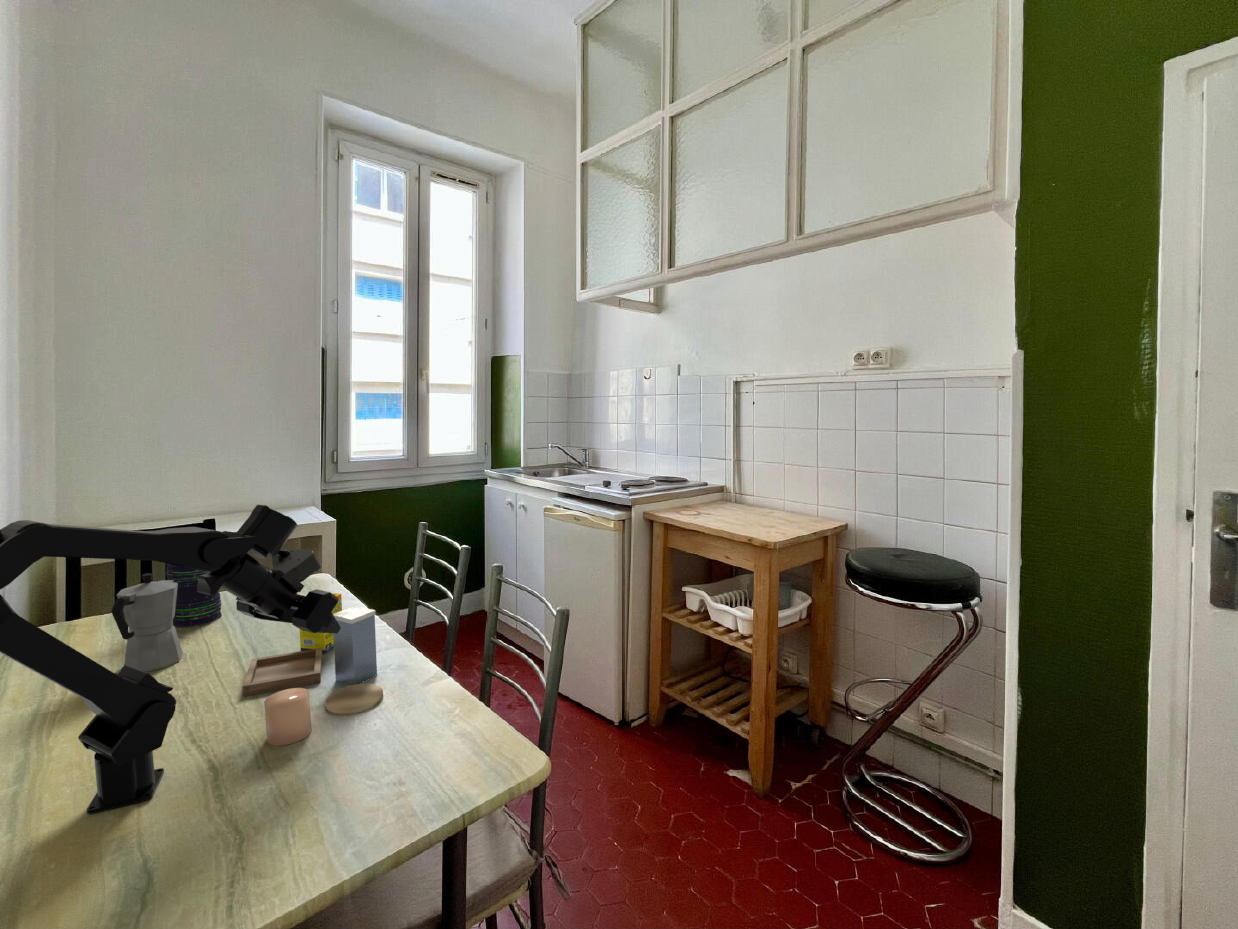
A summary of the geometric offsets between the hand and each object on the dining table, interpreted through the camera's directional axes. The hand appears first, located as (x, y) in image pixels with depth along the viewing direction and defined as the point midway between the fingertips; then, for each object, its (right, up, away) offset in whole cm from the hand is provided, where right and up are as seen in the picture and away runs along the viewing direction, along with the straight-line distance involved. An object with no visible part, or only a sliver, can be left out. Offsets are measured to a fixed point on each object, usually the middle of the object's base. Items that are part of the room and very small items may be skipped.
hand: (320, 626), depth 100 cm
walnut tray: (-11, -12, +8) cm, 18 cm away
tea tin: (+3, -12, +7) cm, 14 cm away
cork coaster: (+6, -13, -1) cm, 14 cm away
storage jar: (-48, -9, +36) cm, 60 cm away
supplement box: (-10, -11, +21) cm, 26 cm away
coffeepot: (-40, -11, +12) cm, 43 cm away
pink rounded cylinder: (+1, -14, -11) cm, 18 cm away
